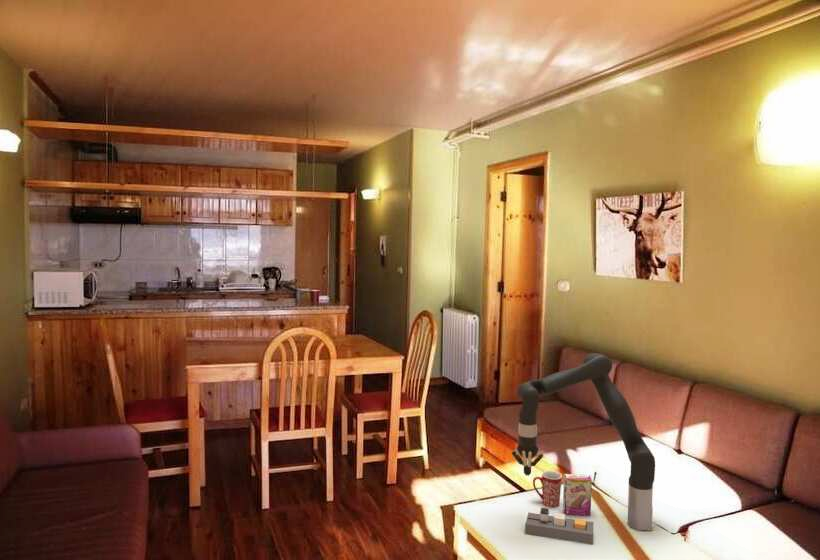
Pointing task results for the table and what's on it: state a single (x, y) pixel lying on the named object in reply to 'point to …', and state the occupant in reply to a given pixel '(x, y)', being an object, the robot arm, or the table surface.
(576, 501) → the candy bar box
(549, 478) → the mug
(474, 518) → the table surface
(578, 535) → the control panel
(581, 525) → the amber button
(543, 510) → the slide switch
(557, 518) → the beige button
